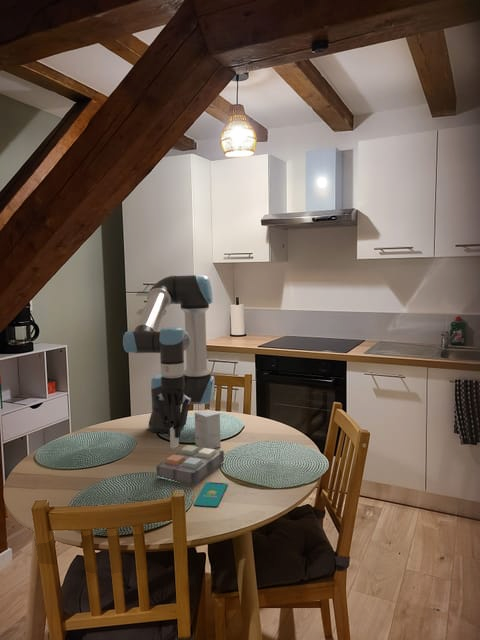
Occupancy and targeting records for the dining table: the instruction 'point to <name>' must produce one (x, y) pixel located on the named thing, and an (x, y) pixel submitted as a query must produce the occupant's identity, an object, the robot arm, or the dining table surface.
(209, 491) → the smartphone
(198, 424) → the small box
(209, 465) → the keypad
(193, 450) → the key sage
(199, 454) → the key ivory
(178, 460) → the key terracotta
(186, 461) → the key blue
